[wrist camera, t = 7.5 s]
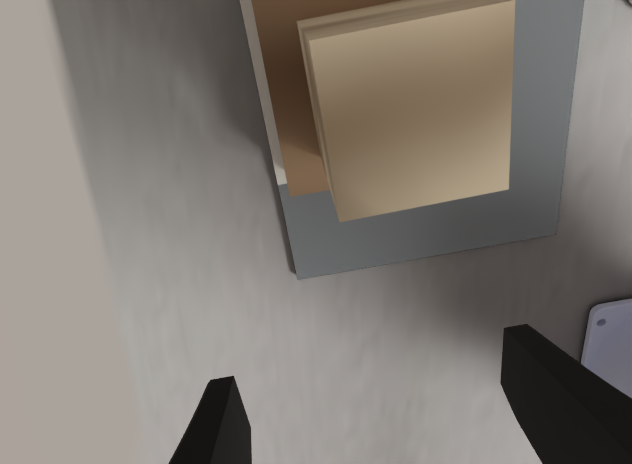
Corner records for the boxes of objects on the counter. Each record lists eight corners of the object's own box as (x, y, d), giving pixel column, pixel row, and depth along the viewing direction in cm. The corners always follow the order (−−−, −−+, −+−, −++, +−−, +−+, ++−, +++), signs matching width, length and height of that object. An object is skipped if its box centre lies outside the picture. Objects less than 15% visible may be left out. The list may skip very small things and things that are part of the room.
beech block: (445, 133, 17) (508, 189, 12) (320, 157, 17) (339, 222, 12) (440, -8, 14) (515, -1, 10) (296, 21, 14) (308, 40, 10)
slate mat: (551, 230, 23) (557, 235, 22) (297, 275, 22) (297, 281, 22) (592, -128, 16) (601, -130, 15) (226, -65, 16) (225, -66, 15)
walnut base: (452, 143, 19) (476, 164, 17) (287, 171, 19) (289, 197, 17) (452, -52, 16) (481, -56, 14) (251, -17, 16) (248, -16, 14)
